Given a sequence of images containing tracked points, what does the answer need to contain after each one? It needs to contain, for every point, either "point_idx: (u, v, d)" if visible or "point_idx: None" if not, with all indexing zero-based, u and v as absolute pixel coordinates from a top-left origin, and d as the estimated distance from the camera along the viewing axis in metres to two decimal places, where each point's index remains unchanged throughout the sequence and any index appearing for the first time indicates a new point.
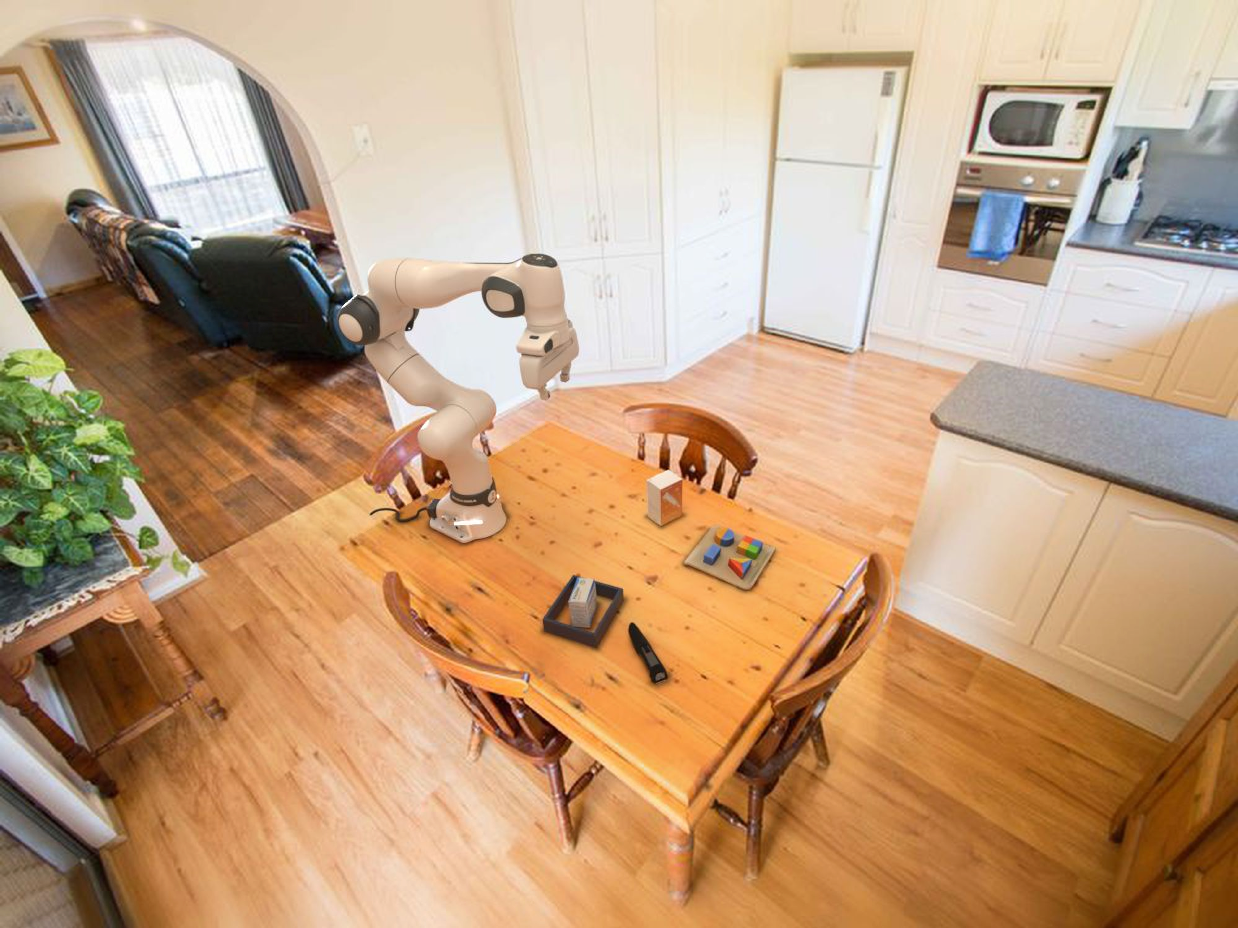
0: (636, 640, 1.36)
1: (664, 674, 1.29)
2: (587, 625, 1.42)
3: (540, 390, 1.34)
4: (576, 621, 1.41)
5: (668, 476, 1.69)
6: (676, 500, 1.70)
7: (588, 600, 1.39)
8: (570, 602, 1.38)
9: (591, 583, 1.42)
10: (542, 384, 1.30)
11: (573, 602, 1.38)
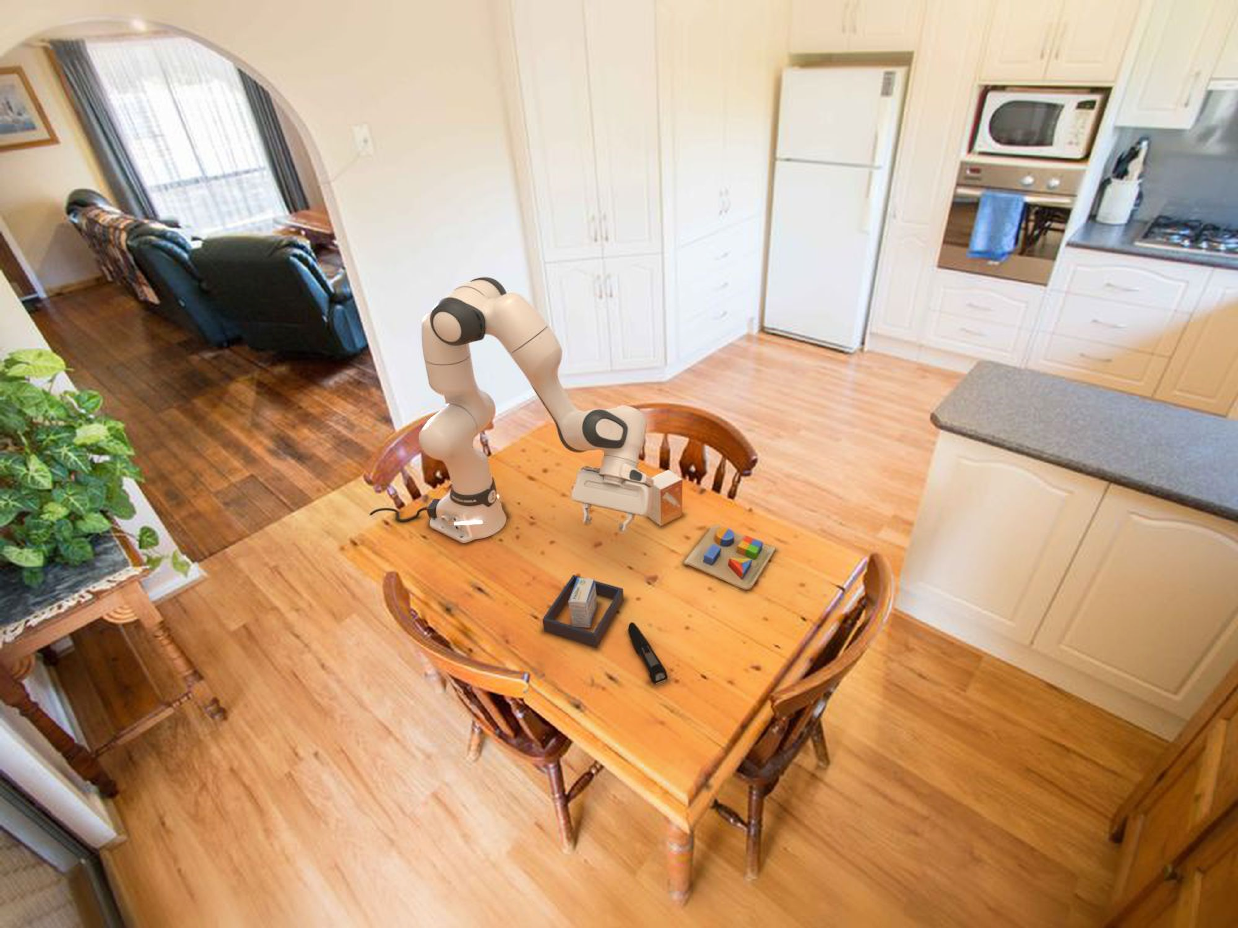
0: (635, 641, 1.36)
1: (663, 674, 1.29)
2: (587, 625, 1.42)
3: (630, 521, 1.45)
4: (576, 621, 1.41)
5: (668, 476, 1.69)
6: (676, 500, 1.70)
7: (588, 600, 1.39)
8: (570, 602, 1.38)
9: (591, 583, 1.42)
10: None
11: (573, 602, 1.38)
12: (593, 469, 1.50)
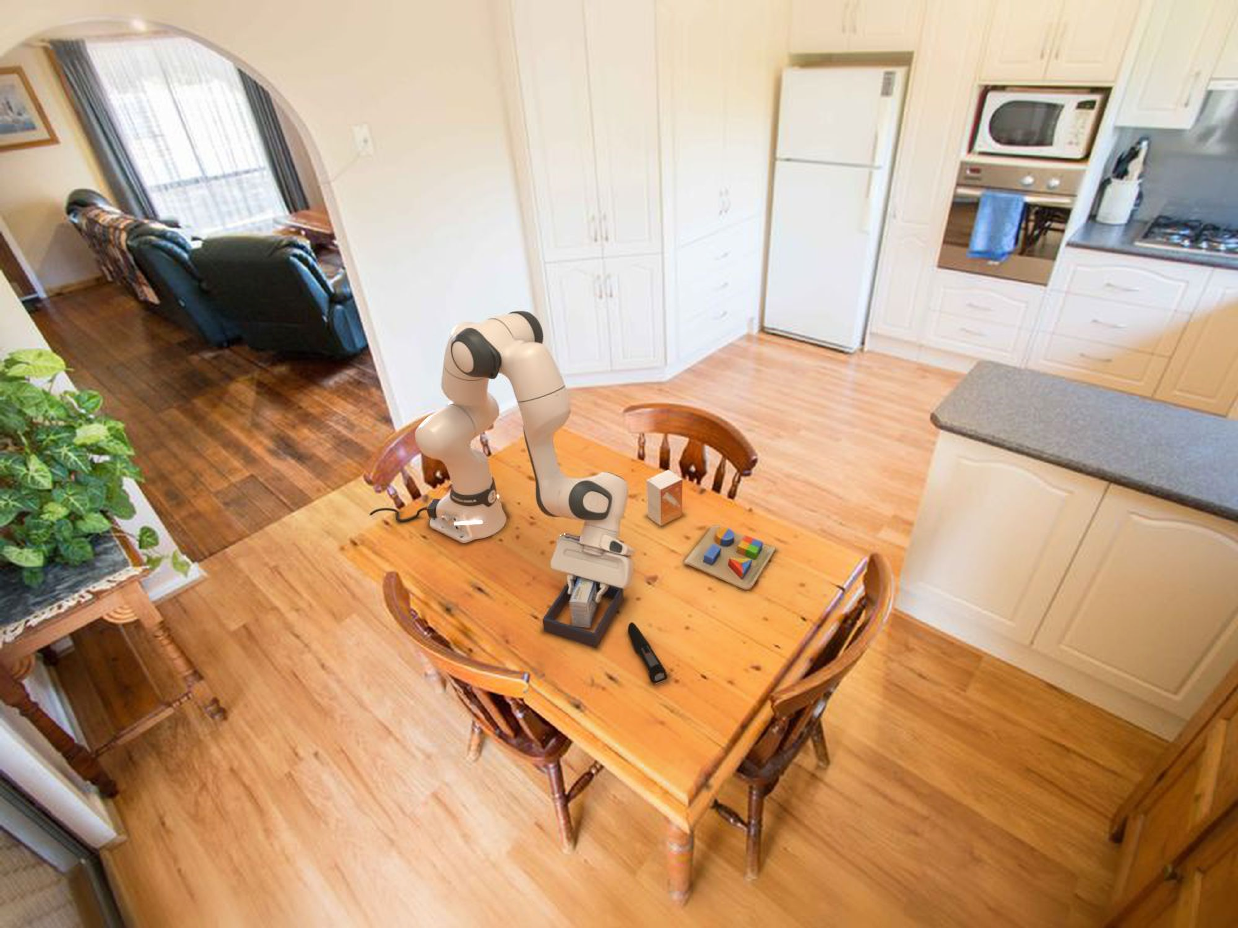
0: (635, 641, 1.36)
1: (663, 675, 1.29)
2: (587, 625, 1.42)
3: (603, 591, 1.42)
4: (576, 621, 1.41)
5: (668, 476, 1.69)
6: (676, 500, 1.70)
7: (589, 600, 1.39)
8: (571, 602, 1.38)
9: (592, 583, 1.42)
10: None
11: (573, 602, 1.38)
12: (573, 537, 1.47)
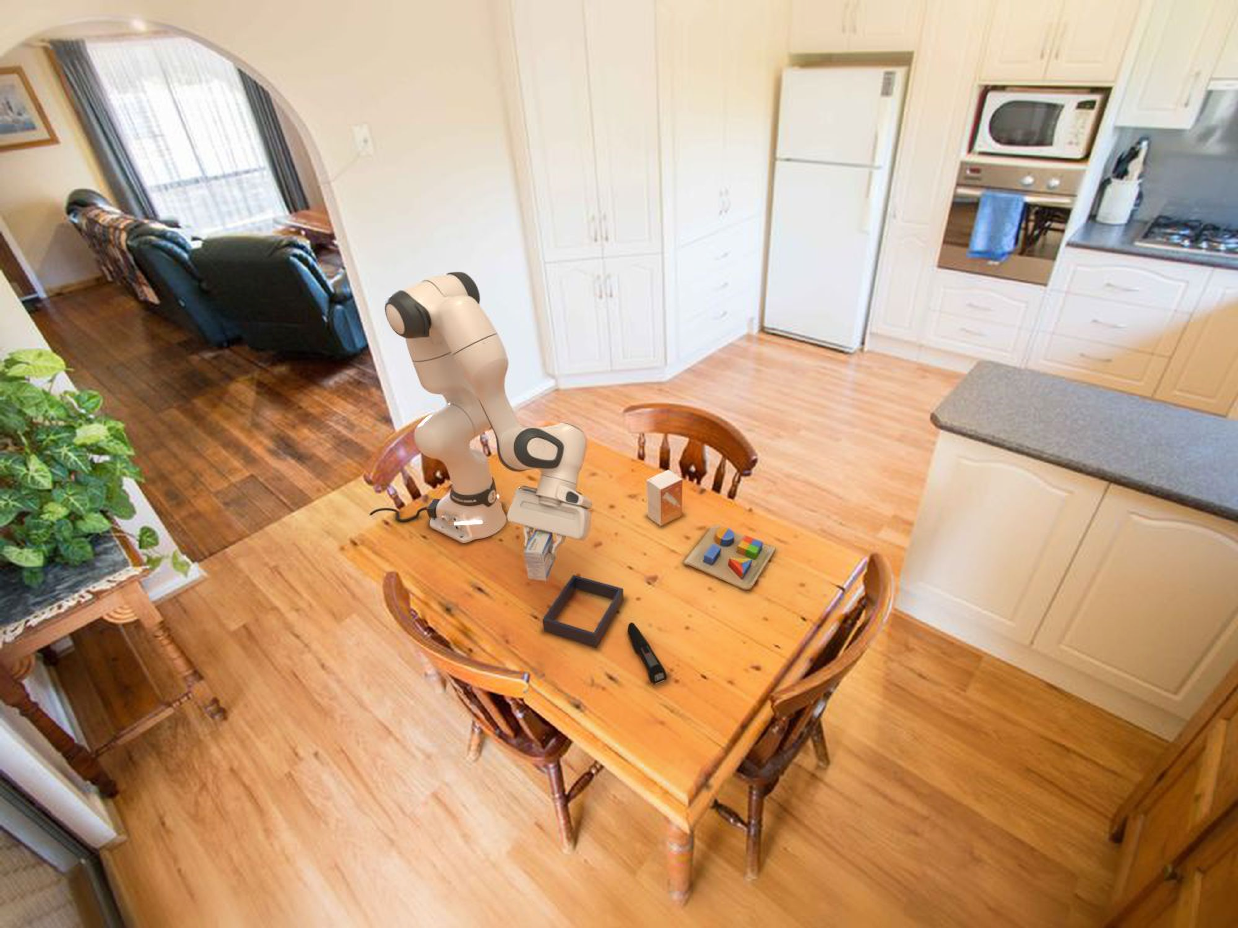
0: (635, 641, 1.36)
1: (663, 675, 1.29)
2: (543, 578, 1.39)
3: (560, 543, 1.39)
4: (532, 573, 1.39)
5: (668, 476, 1.69)
6: (676, 500, 1.70)
7: (544, 551, 1.36)
8: (526, 553, 1.36)
9: (548, 535, 1.40)
10: None
11: (528, 553, 1.35)
12: (530, 489, 1.44)
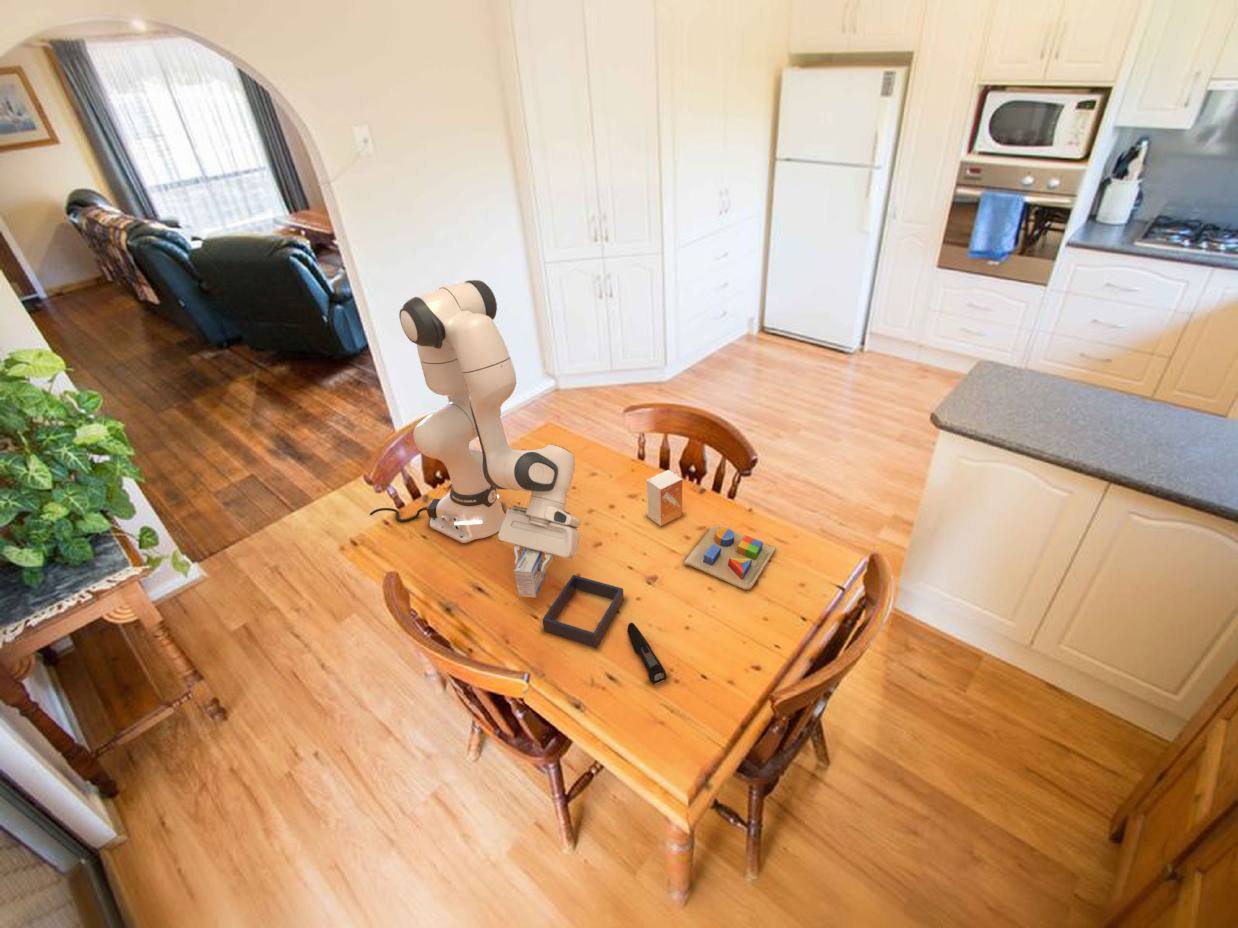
0: (635, 641, 1.36)
1: (663, 675, 1.29)
2: (533, 595, 1.44)
3: (549, 561, 1.44)
4: (522, 590, 1.44)
5: (668, 476, 1.69)
6: (676, 500, 1.70)
7: (533, 569, 1.41)
8: (515, 571, 1.41)
9: (538, 554, 1.45)
10: None
11: (518, 571, 1.40)
12: (521, 509, 1.49)
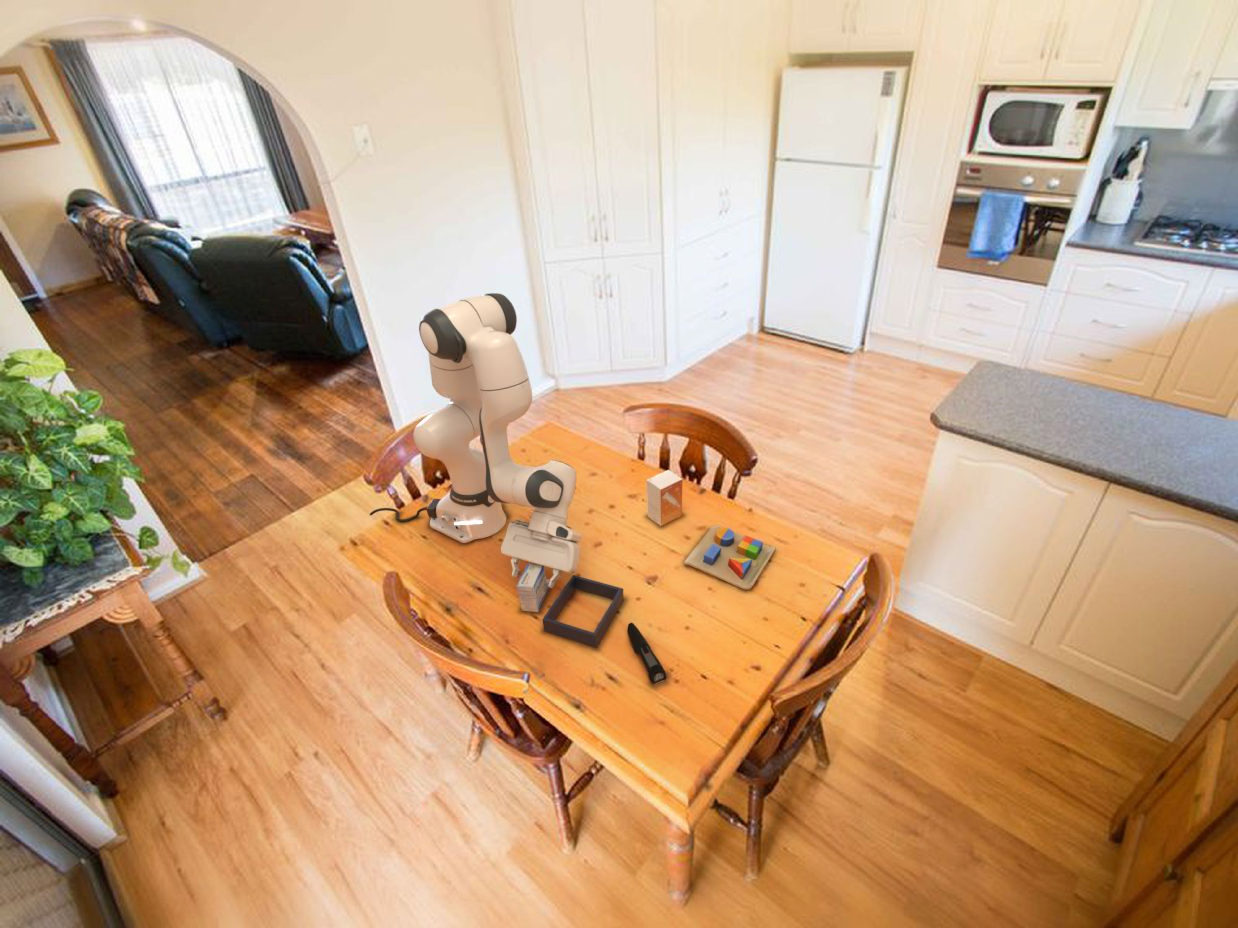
0: (634, 641, 1.36)
1: (662, 675, 1.29)
2: (536, 609, 1.47)
3: (556, 577, 1.46)
4: (525, 605, 1.46)
5: (668, 476, 1.69)
6: (676, 500, 1.70)
7: (535, 584, 1.44)
8: (518, 587, 1.43)
9: (540, 569, 1.47)
10: None
11: (520, 587, 1.43)
12: (523, 523, 1.51)
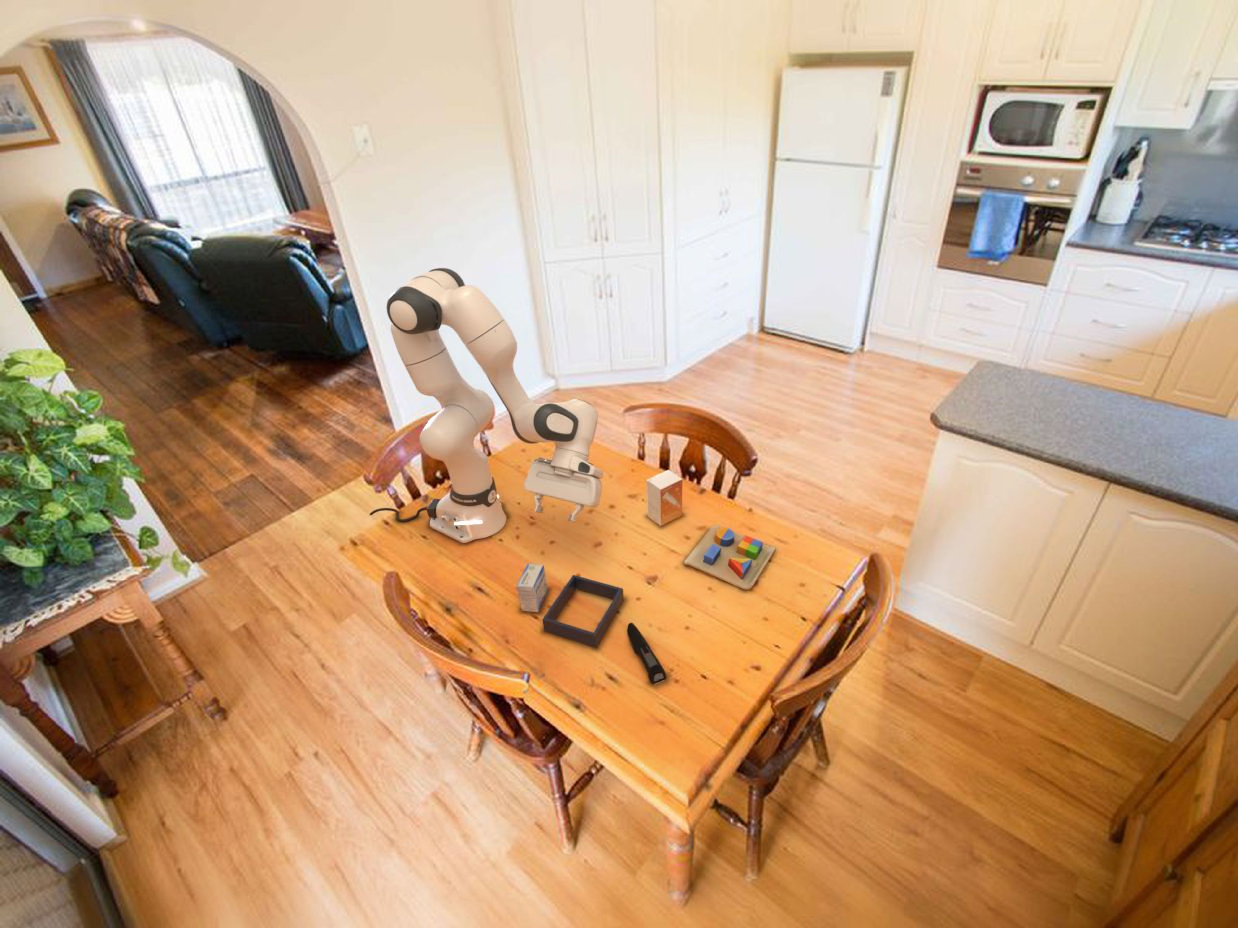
0: (634, 641, 1.36)
1: (662, 675, 1.29)
2: (536, 609, 1.47)
3: (578, 511, 1.50)
4: (525, 605, 1.46)
5: (668, 476, 1.69)
6: (676, 500, 1.70)
7: (535, 584, 1.44)
8: (518, 587, 1.43)
9: (540, 569, 1.47)
10: None
11: (520, 587, 1.43)
12: (546, 460, 1.55)
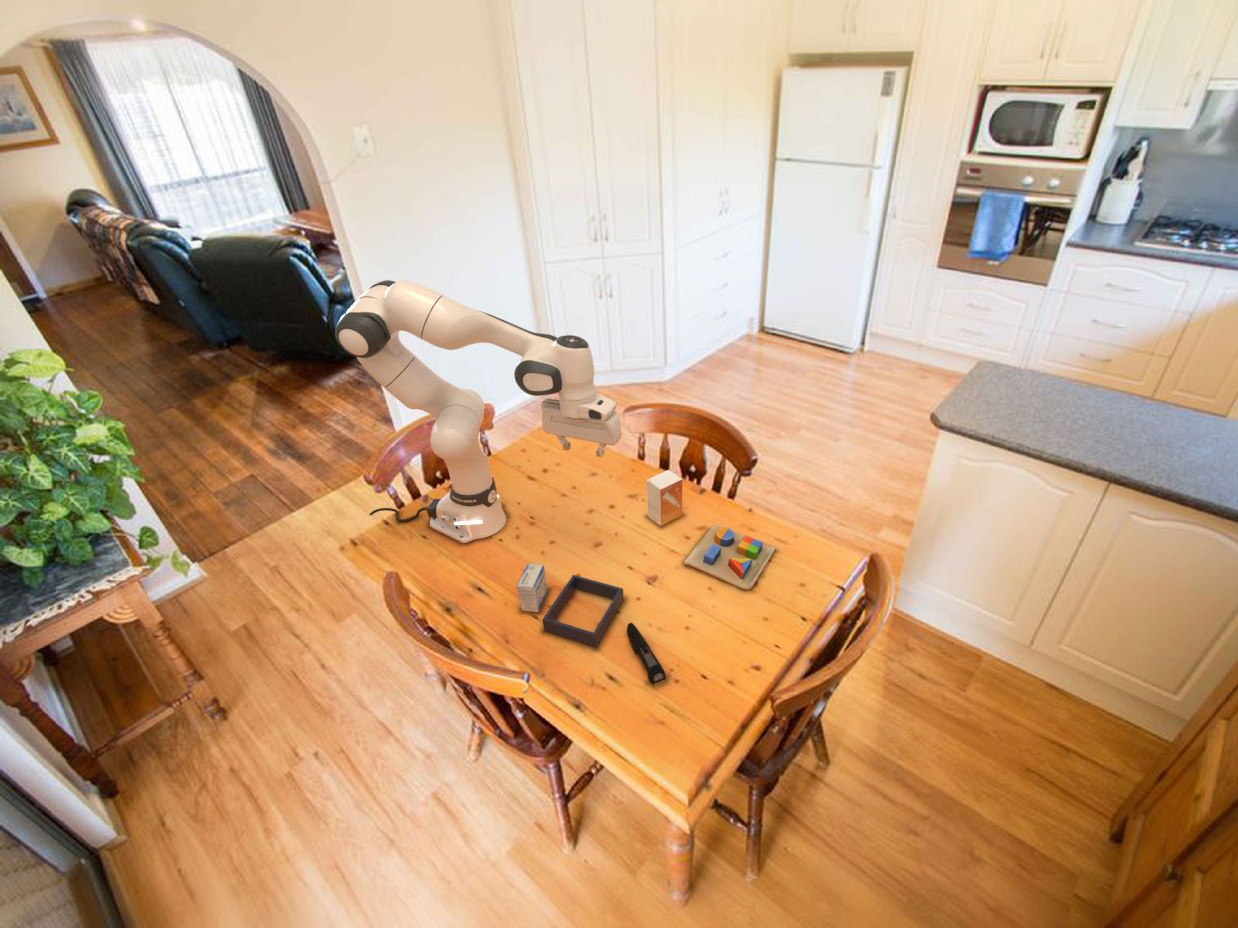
0: (634, 641, 1.36)
1: (662, 675, 1.29)
2: (536, 609, 1.47)
3: (604, 447, 1.48)
4: (525, 605, 1.46)
5: (668, 476, 1.69)
6: (676, 500, 1.70)
7: (535, 584, 1.44)
8: (518, 587, 1.43)
9: (540, 569, 1.47)
10: None
11: (520, 587, 1.43)
12: (554, 402, 1.46)
